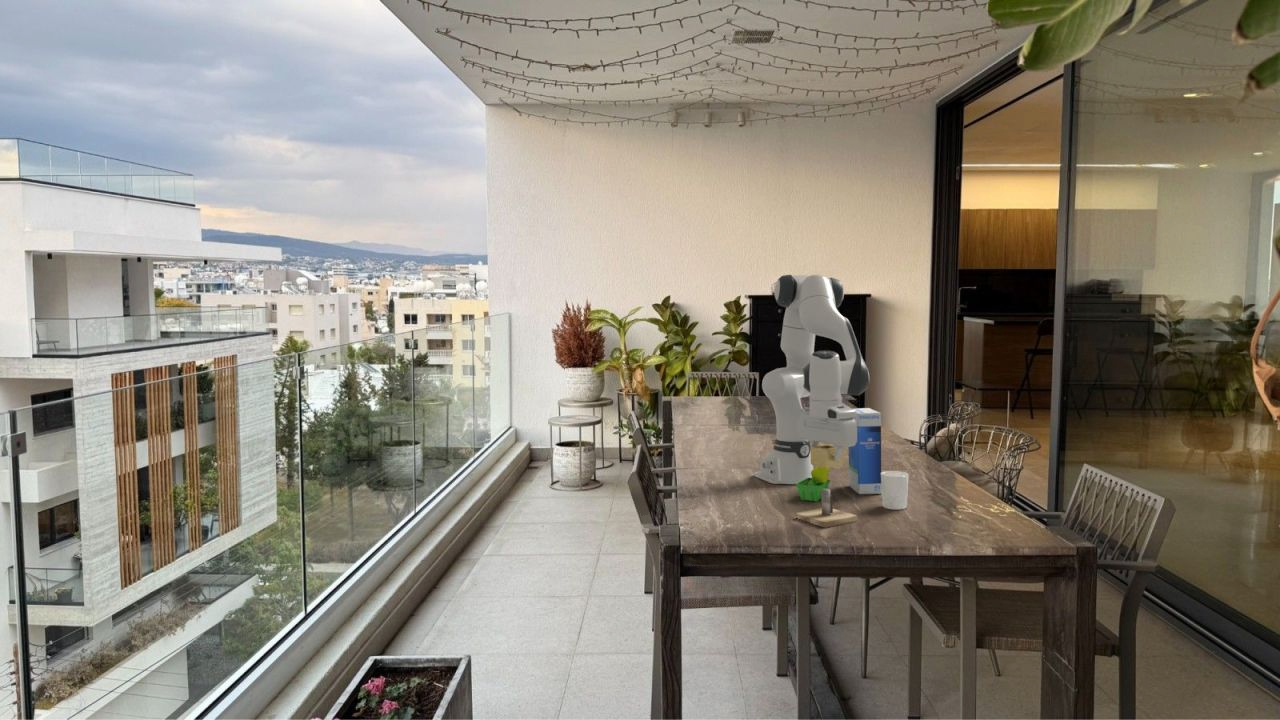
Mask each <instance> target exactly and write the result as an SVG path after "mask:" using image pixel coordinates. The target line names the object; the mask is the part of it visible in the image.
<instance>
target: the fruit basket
mask: <svg viewBox="0 0 1280 720" xmlns="http://www.w3.org/2000/svg"><path fill="white" fill-rule="evenodd" d="M829 474H830V467H828V468H825V467H820V466H815V467H813V470H812V471H811V476H812V478H806V479H805V480H803V481H801V482H799V483H797V484H795V485H796V488H797V489H798V490H797V491H798V494H799V497H800V500H801V501H807V500H809V501H808V502H818V501H819V500H822V489H829V485H830V483H831V479H829V477H830V475H829Z"/></svg>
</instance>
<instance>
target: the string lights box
mask: <svg viewBox="0 0 1280 720" xmlns="http://www.w3.org/2000/svg"><path fill="white" fill-rule="evenodd" d="M853 409H854V410H855V411H856V417H855V418H853V419H854V420H855V422H856V425H857V443H856V444H855V446H851V447H848V486H849V487H850V488H851V489H852V490H854V491H855V492H856V493H858V495H877V494H879V495H880V494H881V495H882V490H881V472H882V412H879V411H877V410H875V409H872V408H871V407H862V408H861V407H860V408H853Z"/></svg>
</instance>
